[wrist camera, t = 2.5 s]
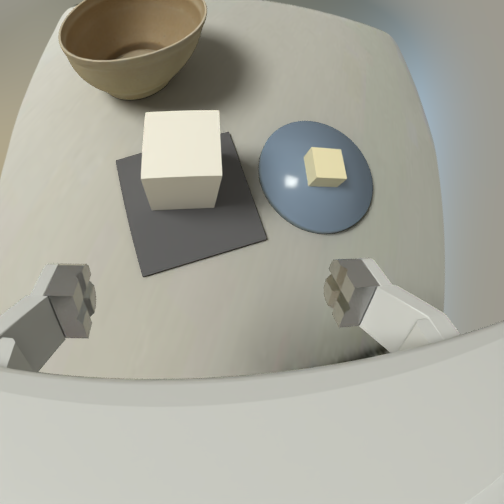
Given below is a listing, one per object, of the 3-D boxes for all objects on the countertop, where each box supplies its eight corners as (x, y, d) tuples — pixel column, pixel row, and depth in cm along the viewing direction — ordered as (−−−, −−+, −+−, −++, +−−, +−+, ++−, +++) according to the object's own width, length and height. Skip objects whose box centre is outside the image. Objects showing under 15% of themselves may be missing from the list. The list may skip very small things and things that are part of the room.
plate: (384, 217, 36) (388, 215, 35) (283, 249, 33) (286, 247, 32) (341, 120, 38) (344, 116, 37) (241, 134, 34) (243, 130, 33)
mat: (265, 239, 32) (266, 238, 32) (143, 277, 29) (142, 276, 29) (228, 133, 34) (228, 131, 34) (116, 162, 31) (115, 160, 30)
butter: (337, 187, 34) (347, 178, 32) (308, 186, 34) (316, 177, 31) (331, 159, 35) (340, 149, 32) (303, 157, 34) (311, 146, 32)
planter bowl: (96, 144, 31) (69, 86, 20) (71, 64, 32) (52, 9, 21) (220, 94, 35) (233, 30, 24) (174, 26, 36) (176, -31, 26)
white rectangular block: (214, 207, 32) (222, 175, 24) (151, 210, 30) (140, 178, 23) (211, 152, 33) (218, 110, 25) (153, 154, 31) (145, 112, 24)
